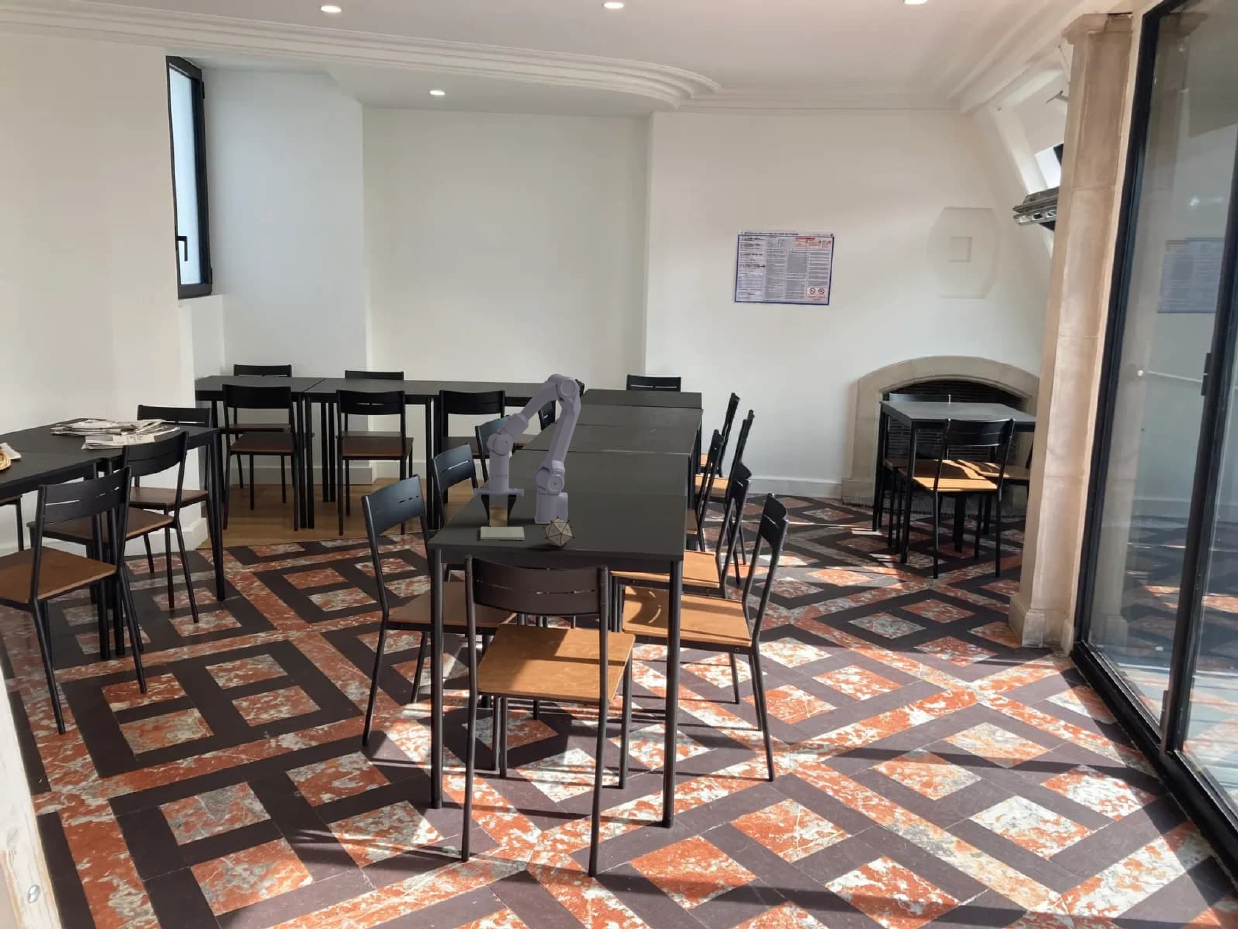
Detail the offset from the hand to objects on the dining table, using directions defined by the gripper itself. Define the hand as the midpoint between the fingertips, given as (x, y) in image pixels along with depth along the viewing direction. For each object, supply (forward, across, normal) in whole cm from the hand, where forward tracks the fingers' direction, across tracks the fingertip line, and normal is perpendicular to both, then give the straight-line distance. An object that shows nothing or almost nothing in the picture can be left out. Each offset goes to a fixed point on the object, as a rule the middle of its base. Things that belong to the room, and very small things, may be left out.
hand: (498, 519), depth 277 cm
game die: (+2, -16, +23) cm, 28 cm away
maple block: (+1, 0, 0) cm, 1 cm away
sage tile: (+2, -1, +12) cm, 12 cm away
